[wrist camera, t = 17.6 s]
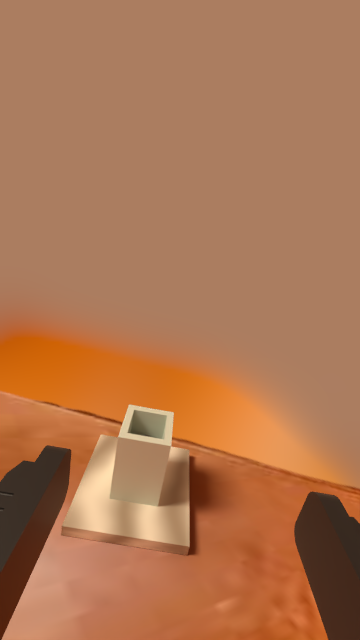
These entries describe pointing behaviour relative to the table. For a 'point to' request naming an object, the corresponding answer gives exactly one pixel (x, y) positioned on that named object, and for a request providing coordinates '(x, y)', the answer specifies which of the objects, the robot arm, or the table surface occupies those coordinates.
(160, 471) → the cream square bin
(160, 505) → the post base
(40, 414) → the table surface
